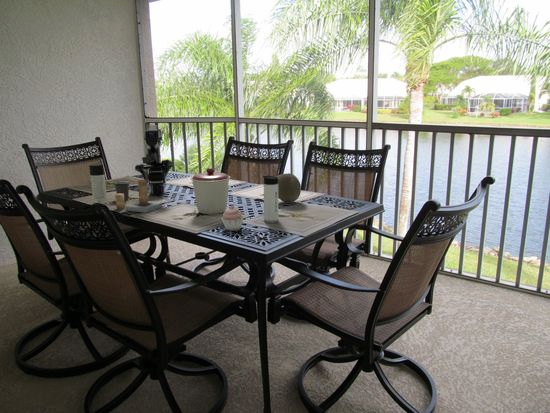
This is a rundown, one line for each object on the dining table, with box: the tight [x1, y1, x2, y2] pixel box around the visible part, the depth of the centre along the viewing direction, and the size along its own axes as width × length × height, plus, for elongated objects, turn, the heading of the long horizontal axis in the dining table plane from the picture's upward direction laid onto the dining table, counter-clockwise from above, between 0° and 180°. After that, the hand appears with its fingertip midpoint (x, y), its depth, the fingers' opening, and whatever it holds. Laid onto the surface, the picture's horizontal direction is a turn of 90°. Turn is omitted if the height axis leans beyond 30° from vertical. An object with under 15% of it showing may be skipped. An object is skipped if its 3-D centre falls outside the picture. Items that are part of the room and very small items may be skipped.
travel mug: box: [262, 175, 279, 224], centre depth 186 cm, size 6×7×20 cm
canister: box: [190, 166, 231, 215], centre depth 202 cm, size 18×18×21 cm
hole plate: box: [125, 200, 163, 214], centre depth 211 cm, size 12×12×2 cm
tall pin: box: [137, 178, 149, 206], centre depth 209 cm, size 4×4×14 cm
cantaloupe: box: [276, 173, 302, 203], centre depth 219 cm, size 14×14×15 cm
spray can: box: [88, 163, 108, 205], centre depth 219 cm, size 7×7×20 cm
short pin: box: [114, 193, 126, 210], centre depth 211 cm, size 4×4×7 cm
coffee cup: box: [113, 180, 131, 201], centre depth 228 cm, size 8×8×10 cm
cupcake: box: [220, 205, 245, 232], centre depth 177 cm, size 9×9×10 cm
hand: (155, 182), depth 220 cm, fingers open, 9 cm apart
